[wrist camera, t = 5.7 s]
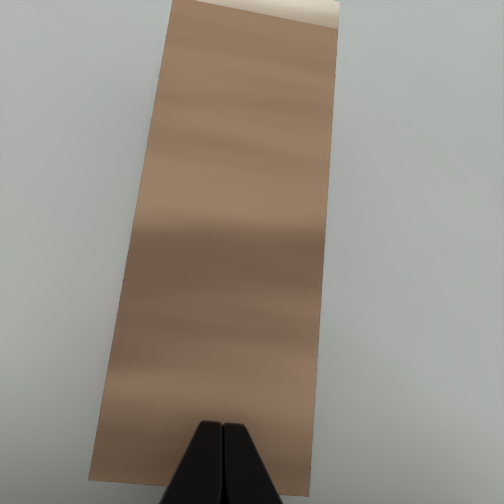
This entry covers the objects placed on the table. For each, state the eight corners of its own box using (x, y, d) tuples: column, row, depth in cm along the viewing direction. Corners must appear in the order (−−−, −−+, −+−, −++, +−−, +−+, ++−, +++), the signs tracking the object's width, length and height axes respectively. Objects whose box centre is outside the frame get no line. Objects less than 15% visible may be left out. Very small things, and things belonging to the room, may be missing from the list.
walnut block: (308, 496, 11) (339, 2, 15) (88, 480, 10) (178, -32, 14) (268, 460, 16) (299, 93, 20) (115, 447, 15) (177, 71, 19)
